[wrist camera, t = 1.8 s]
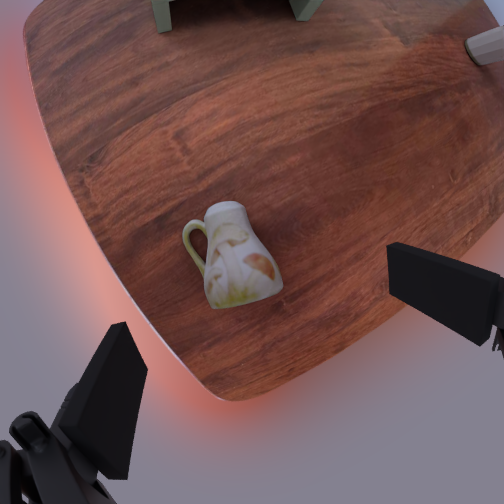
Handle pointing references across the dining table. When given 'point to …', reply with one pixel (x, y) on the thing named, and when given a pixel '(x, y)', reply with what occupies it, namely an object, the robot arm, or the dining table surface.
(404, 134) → the dining table surface
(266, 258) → the mug
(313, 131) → the dining table surface
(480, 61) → the bottle
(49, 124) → the dining table surface
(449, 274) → the robot arm
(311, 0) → the shelf
